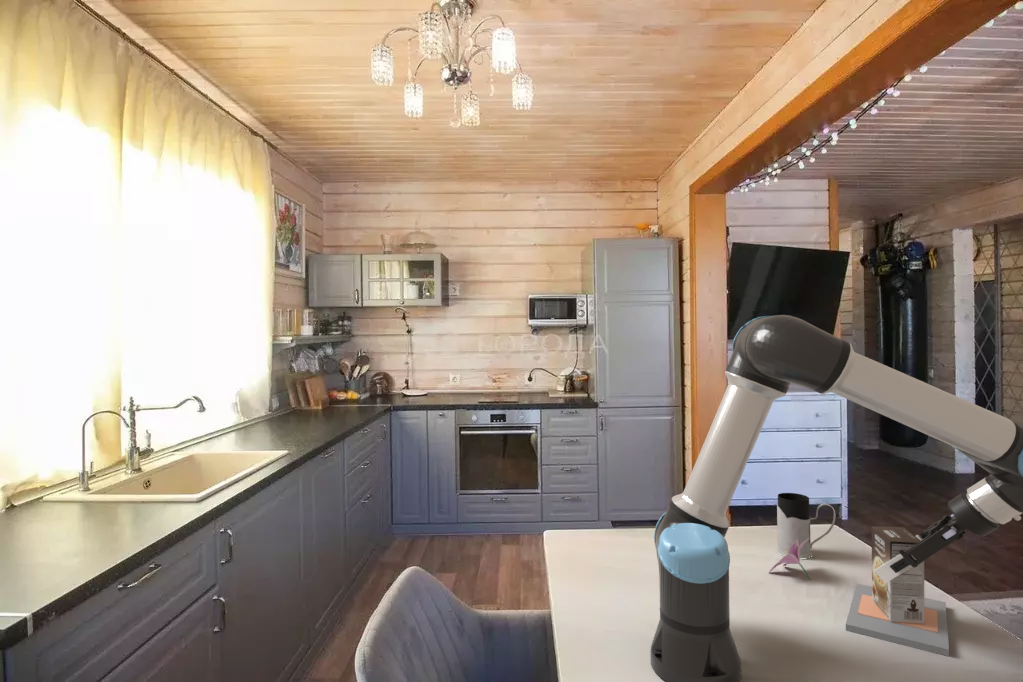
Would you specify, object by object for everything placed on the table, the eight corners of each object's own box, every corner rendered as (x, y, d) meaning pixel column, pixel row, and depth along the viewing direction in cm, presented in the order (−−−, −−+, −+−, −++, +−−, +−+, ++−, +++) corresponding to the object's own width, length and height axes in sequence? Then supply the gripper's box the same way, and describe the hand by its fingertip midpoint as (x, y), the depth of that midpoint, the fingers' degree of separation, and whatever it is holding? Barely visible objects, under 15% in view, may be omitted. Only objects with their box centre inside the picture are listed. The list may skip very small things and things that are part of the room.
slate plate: (949, 656, 101) (948, 648, 101) (845, 630, 111) (845, 623, 111) (945, 607, 119) (945, 601, 119) (856, 588, 128) (856, 582, 128)
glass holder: (774, 545, 156) (773, 491, 155) (832, 551, 151) (831, 495, 151) (777, 557, 147) (776, 499, 147) (839, 563, 143) (838, 504, 142)
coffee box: (870, 600, 120) (869, 525, 120) (904, 603, 118) (903, 526, 118) (890, 622, 111) (889, 540, 111) (927, 625, 109) (926, 542, 109)
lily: (810, 570, 142) (790, 533, 145) (840, 569, 131) (817, 529, 134) (772, 590, 139) (751, 552, 142) (799, 591, 128) (776, 550, 131)
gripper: (992, 543, 94) (888, 604, 105) (1009, 510, 112) (918, 565, 123) (952, 505, 98) (856, 567, 109) (974, 479, 115) (889, 534, 126)
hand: (888, 566), depth 116 cm, fingers open, 13 cm apart
